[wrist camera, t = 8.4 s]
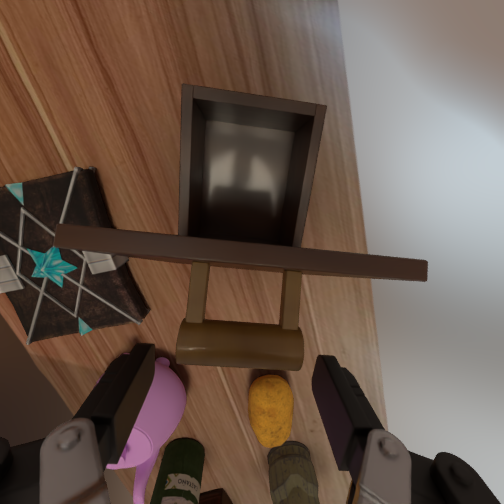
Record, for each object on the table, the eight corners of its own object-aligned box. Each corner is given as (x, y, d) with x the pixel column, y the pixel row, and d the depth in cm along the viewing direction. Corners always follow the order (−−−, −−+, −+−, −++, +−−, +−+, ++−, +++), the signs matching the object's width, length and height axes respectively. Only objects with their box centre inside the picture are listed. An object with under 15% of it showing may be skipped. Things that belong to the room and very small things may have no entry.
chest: (199, 111, 29) (181, 83, 20) (302, 126, 30) (327, 105, 21) (193, 237, 33) (177, 257, 25) (282, 246, 34) (296, 268, 26)
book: (151, 310, 37) (138, 330, 32) (47, 331, 37) (18, 354, 32) (96, 166, 30) (69, 164, 25) (-30, 192, 30) (-81, 195, 25)
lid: (55, 222, 8) (29, 382, 7) (428, 260, 9) (425, 402, 8) (176, 255, 24) (171, 303, 24) (298, 266, 26) (294, 313, 25)
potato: (250, 420, 45) (251, 461, 38) (244, 363, 41) (245, 398, 34) (290, 417, 45) (298, 457, 39) (289, 359, 41) (298, 393, 34)
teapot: (202, 418, 44) (188, 508, 32) (128, 430, 44) (86, 523, 32) (177, 329, 38) (148, 399, 26) (90, 343, 38) (22, 418, 26)
